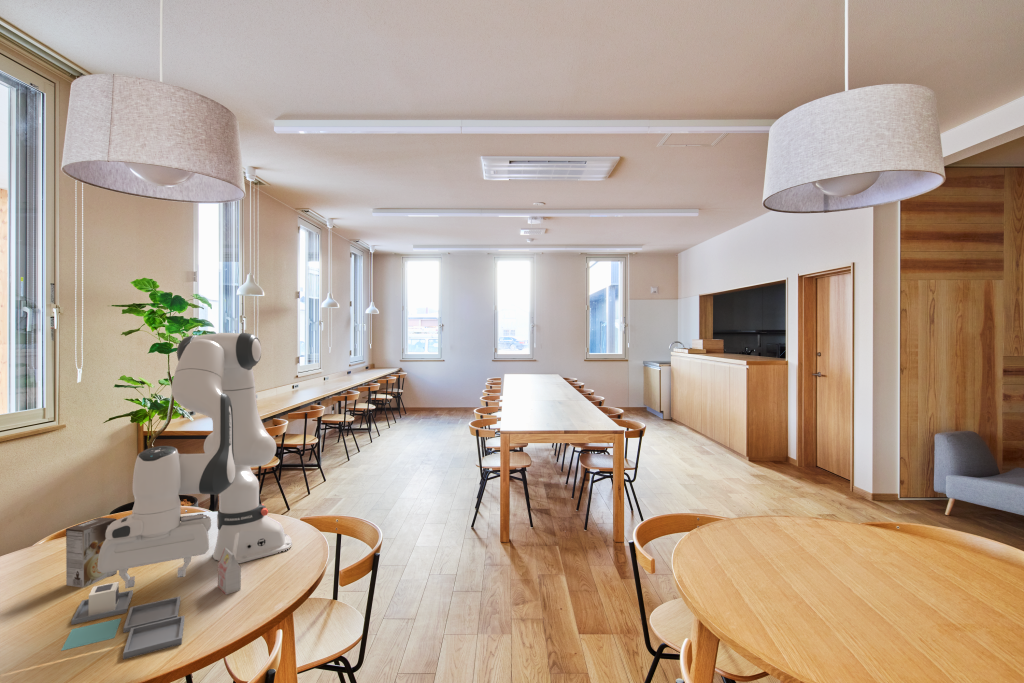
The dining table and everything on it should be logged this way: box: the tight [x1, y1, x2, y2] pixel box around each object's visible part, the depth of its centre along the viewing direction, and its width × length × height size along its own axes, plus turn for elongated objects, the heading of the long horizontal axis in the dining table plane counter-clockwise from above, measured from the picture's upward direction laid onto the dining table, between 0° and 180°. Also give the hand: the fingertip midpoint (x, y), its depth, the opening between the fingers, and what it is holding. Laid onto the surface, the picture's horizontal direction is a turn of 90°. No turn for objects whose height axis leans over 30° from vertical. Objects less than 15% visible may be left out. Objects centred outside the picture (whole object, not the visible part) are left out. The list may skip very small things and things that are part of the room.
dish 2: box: [122, 595, 181, 634], centre depth 117 cm, size 10×10×1 cm
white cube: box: [88, 581, 120, 616], centre depth 120 cm, size 5×5×5 cm
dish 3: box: [122, 615, 185, 660], centre depth 109 cm, size 10×10×1 cm
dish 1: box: [70, 589, 134, 626], centre depth 120 cm, size 10×10×1 cm
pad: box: [60, 617, 122, 652], centre depth 110 cm, size 9×9×1 cm
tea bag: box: [217, 548, 242, 596], centre depth 132 cm, size 4×7×10 cm, turn 47°
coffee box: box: [65, 516, 118, 588], centre depth 135 cm, size 9×6×16 cm
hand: (156, 581), depth 109 cm, fingers open, 8 cm apart
